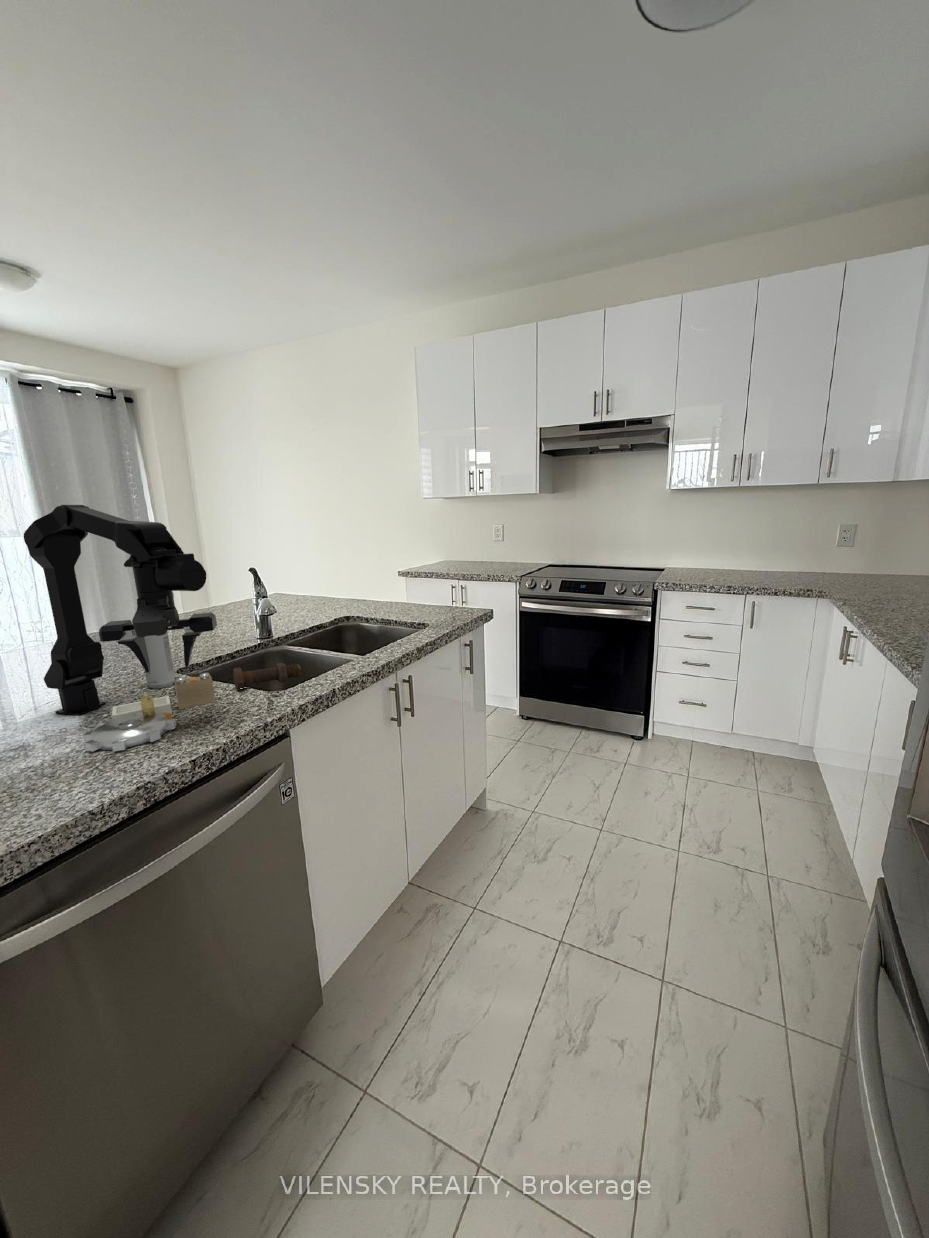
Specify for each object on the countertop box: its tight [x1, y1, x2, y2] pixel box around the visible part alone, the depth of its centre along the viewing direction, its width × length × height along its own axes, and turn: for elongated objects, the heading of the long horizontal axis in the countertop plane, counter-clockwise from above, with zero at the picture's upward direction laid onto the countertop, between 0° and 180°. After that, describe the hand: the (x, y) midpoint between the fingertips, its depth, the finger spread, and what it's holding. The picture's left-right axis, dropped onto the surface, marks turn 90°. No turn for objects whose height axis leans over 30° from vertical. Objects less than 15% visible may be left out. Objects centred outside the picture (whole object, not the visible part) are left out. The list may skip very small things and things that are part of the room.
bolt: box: [232, 662, 302, 692], centre depth 121 cm, size 6×5×15 cm
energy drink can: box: [143, 631, 176, 690], centre depth 121 cm, size 6×6×15 cm
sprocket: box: [82, 694, 177, 752], centre depth 93 cm, size 15×15×6 cm
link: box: [173, 672, 216, 711], centre depth 109 cm, size 7×4×6 cm, turn 124°
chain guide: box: [111, 695, 173, 720], centre depth 104 cm, size 10×6×2 cm, turn 124°
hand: (168, 669), depth 97 cm, fingers open, 6 cm apart
